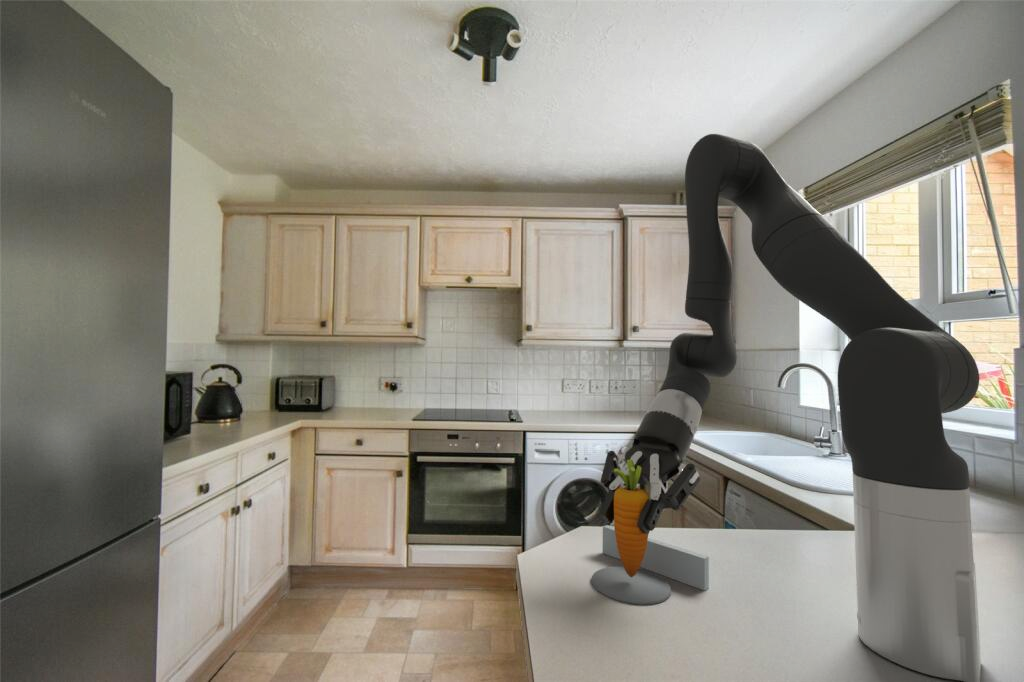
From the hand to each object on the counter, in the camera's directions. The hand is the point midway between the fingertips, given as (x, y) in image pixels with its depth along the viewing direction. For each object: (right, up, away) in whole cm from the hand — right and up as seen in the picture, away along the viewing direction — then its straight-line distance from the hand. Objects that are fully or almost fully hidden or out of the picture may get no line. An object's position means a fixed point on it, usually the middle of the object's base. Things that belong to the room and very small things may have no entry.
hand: (623, 523), depth 58 cm
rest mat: (+1, -8, 0) cm, 8 cm away
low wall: (+5, -9, +6) cm, 12 cm away
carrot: (+1, -7, +1) cm, 8 cm away
